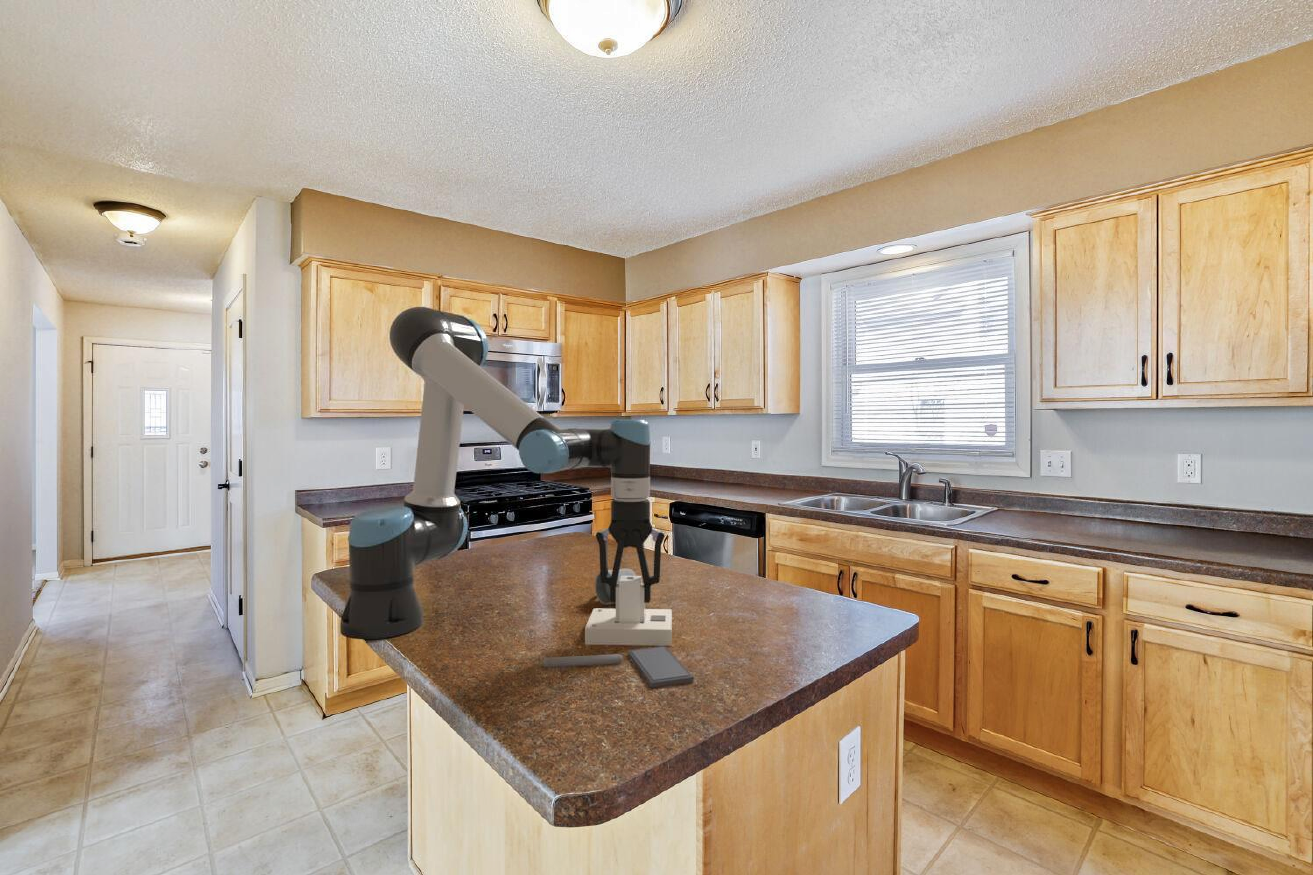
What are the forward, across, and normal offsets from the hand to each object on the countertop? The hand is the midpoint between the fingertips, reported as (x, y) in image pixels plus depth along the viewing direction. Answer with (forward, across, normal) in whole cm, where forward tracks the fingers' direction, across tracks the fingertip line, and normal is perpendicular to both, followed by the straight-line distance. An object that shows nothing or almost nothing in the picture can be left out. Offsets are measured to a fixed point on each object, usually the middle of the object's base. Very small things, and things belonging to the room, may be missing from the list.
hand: (630, 618), depth 119 cm
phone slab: (+3, +6, -16) cm, 17 cm away
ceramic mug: (+3, -6, +22) cm, 23 cm away
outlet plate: (+3, 0, 0) cm, 3 cm away
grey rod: (+3, -7, -15) cm, 17 cm away
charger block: (+1, 0, 0) cm, 1 cm away
